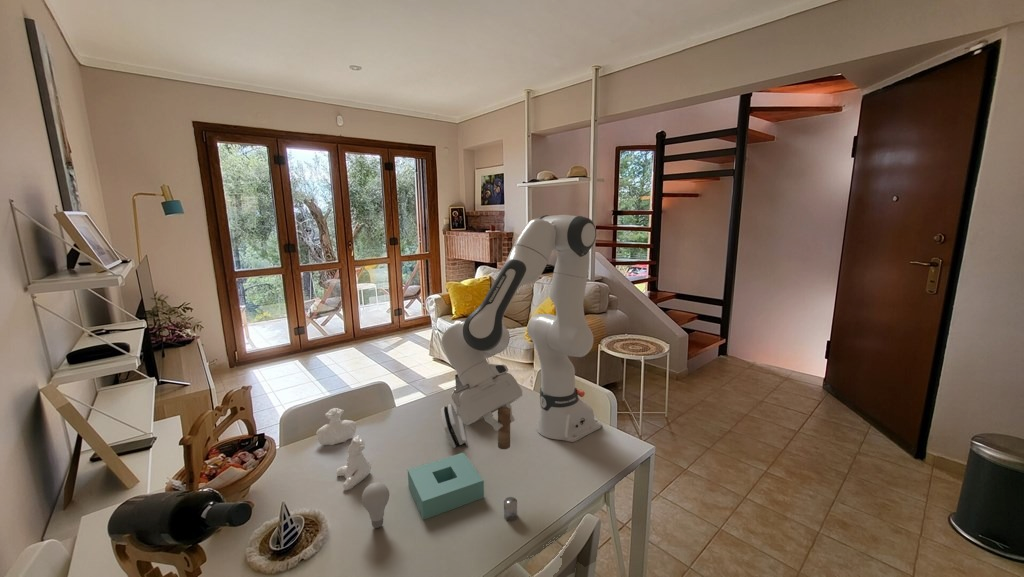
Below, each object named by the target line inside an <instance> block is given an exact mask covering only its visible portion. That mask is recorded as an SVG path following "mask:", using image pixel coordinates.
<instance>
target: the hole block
mask: <svg viewBox="0 0 1024 577" xmlns="http://www.w3.org/2000/svg"><path fill="white" fill-rule="evenodd" d="M407 481H408V488H409V490H410V492H411V495H412V497H413V499H414V501H415V505H416V506H417V509H418V511H419V513H420V516H421V518H422V520H424V521H425V520H426V519H429V518H432V517H436V516H438V515H441V514H443V513H445V512H449V511H451V510H454V509H457V508H459V507H462V506H465V505H467V504H471V503H473V502H476V501H479V500H482V499H484V498H485V488H484V487H485V486H484V485H485V484H484V479H483V478H482V475H481V474H480V473H479V472H478V471H477V469H476V467H475V466H474V465H473V463H472V462H471V461H470V459H469V458H468V456H466V454H465V453H464V452H461V453H457V454H454V455H451V456H448V457H444V458H441V459H437V460H434V461H431V462H427V463H424V464H421V465H417V466H414V467H411V468H408V469H407Z"/></svg>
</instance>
